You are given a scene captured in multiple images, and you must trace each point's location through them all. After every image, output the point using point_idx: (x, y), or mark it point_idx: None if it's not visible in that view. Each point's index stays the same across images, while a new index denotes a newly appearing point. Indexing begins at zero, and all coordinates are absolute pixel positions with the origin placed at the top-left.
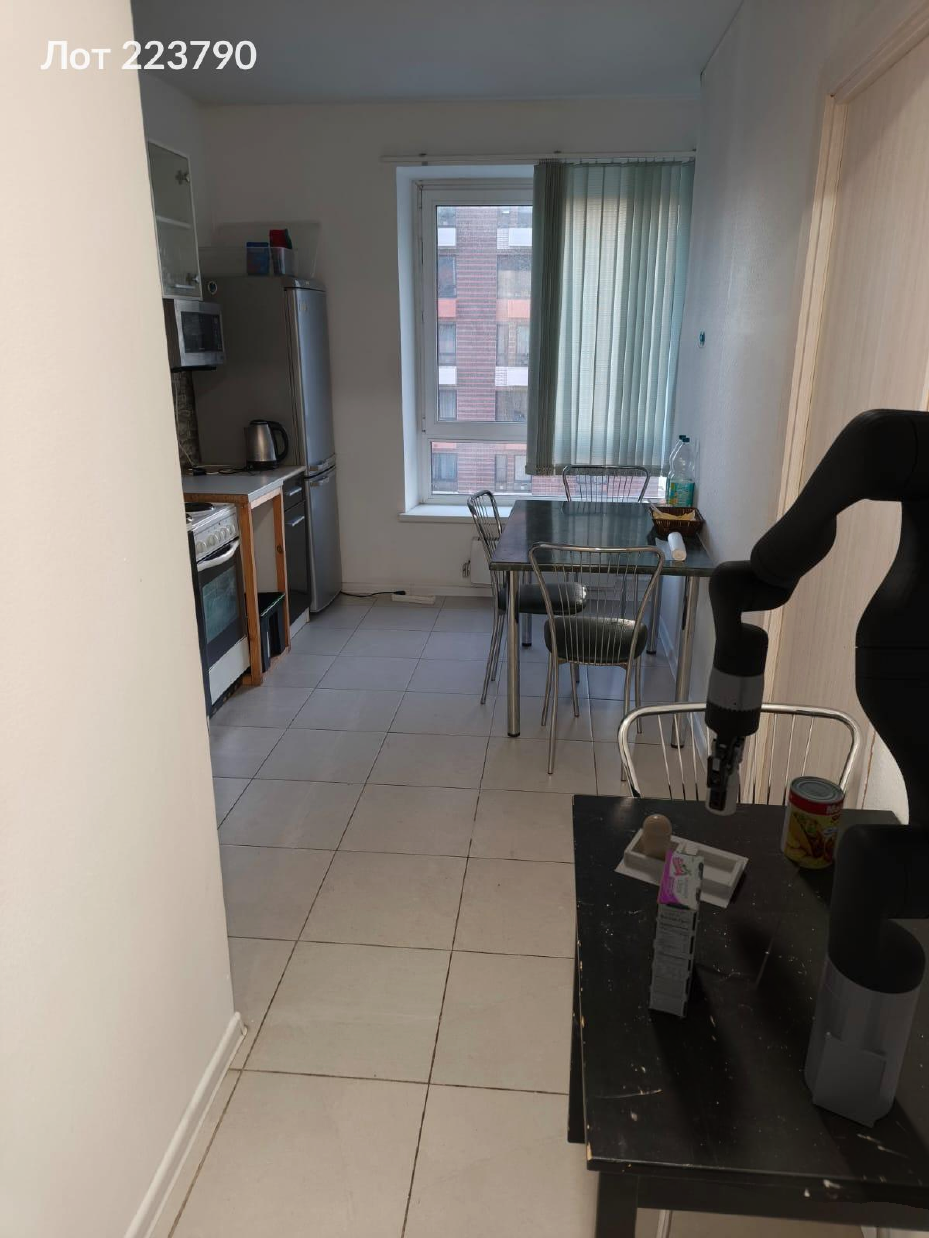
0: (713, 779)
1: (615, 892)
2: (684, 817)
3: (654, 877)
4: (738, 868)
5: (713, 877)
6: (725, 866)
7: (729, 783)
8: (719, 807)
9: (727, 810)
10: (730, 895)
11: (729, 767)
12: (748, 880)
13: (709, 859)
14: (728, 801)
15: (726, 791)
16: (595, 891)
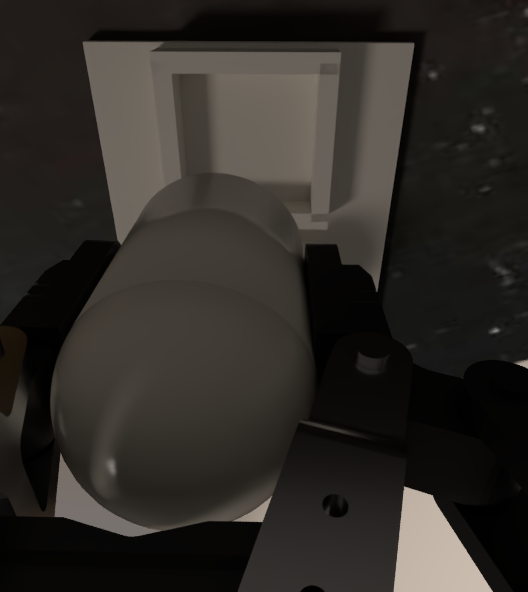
0: (420, 490)
1: (438, 330)
2: (5, 282)
3: None
4: (215, 56)
5: (316, 126)
6: (181, 107)
7: (299, 348)
8: (368, 277)
9: (285, 218)
10: (337, 46)
11: (186, 465)
12: (195, 9)
13: (185, 164)
14: (286, 249)
15: (340, 319)
16: (451, 365)
